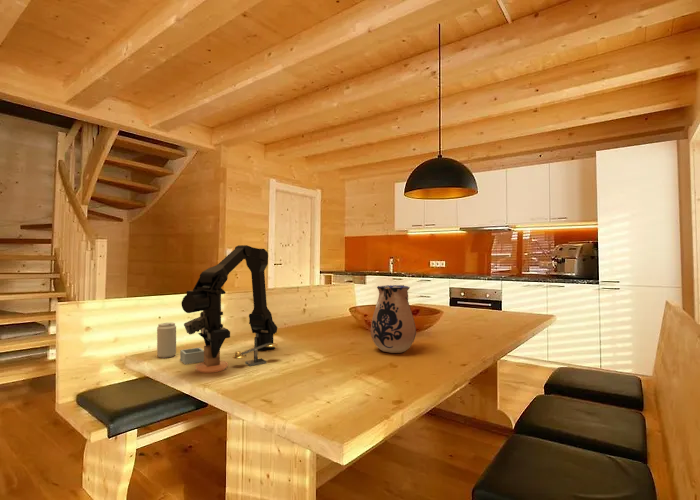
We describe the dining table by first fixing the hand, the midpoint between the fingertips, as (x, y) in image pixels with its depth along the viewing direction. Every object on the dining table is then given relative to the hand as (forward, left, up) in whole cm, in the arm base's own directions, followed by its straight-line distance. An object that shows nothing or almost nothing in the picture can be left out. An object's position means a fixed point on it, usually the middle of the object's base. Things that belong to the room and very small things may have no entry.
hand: (212, 356), depth 133 cm
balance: (-14, +3, -4) cm, 15 cm away
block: (0, 0, -3) cm, 3 cm away
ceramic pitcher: (-66, +16, -4) cm, 68 cm away
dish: (0, 0, -4) cm, 4 cm away
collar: (+3, -13, -4) cm, 14 cm away
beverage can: (+9, -25, -4) cm, 27 cm away
